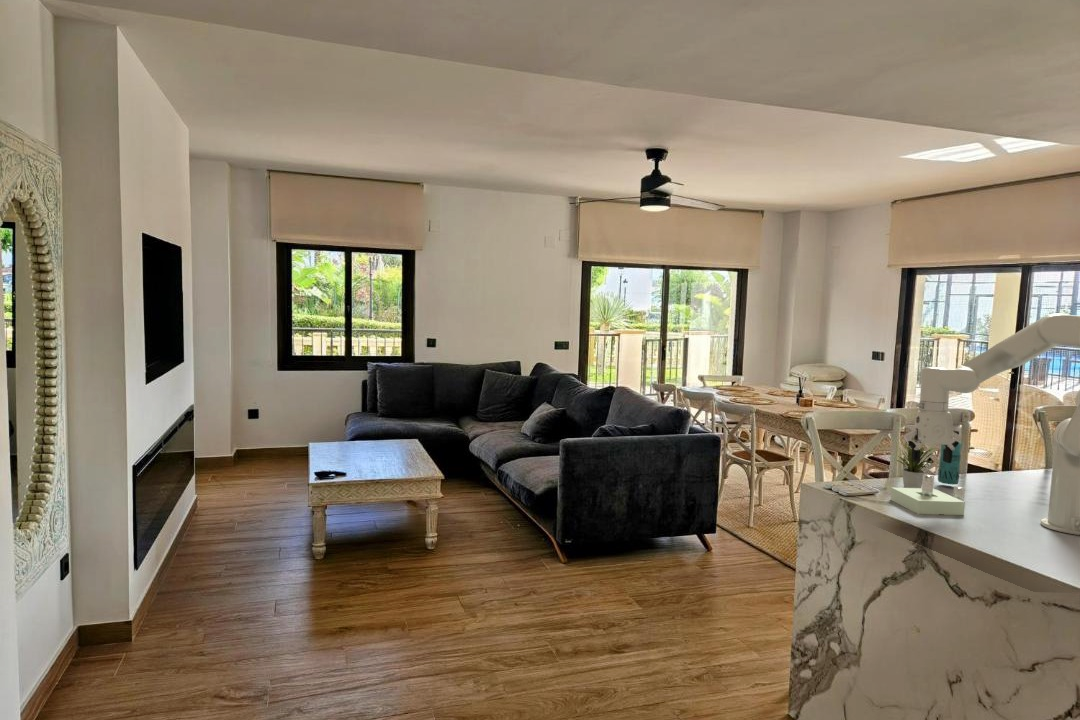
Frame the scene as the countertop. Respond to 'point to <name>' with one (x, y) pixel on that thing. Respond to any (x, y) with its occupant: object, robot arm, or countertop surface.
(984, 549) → the countertop surface
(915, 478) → the house plant
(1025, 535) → the countertop surface
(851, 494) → the countertop surface
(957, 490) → the short pin
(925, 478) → the tall pin
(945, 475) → the beverage bottle
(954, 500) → the hole block
